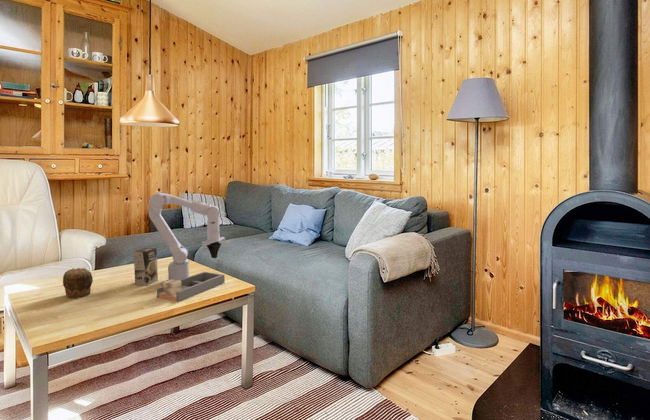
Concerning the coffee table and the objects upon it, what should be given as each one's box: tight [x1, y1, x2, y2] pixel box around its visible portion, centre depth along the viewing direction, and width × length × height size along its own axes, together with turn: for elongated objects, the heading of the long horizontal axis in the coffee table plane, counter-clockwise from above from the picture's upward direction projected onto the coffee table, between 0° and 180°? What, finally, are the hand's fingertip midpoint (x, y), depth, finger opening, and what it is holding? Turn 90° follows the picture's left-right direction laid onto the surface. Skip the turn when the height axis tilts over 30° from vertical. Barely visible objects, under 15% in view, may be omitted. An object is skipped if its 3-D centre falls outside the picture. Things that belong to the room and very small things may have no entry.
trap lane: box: [156, 271, 226, 303], centre depth 183 cm, size 12×29×4 cm, turn 155°
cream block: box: [163, 279, 182, 296], centre depth 172 cm, size 5×5×5 cm
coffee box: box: [133, 247, 159, 287], centre depth 193 cm, size 9×6×16 cm
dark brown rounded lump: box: [62, 267, 94, 299], centre depth 174 cm, size 11×11×12 cm
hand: (214, 257), depth 200 cm, fingers closed
